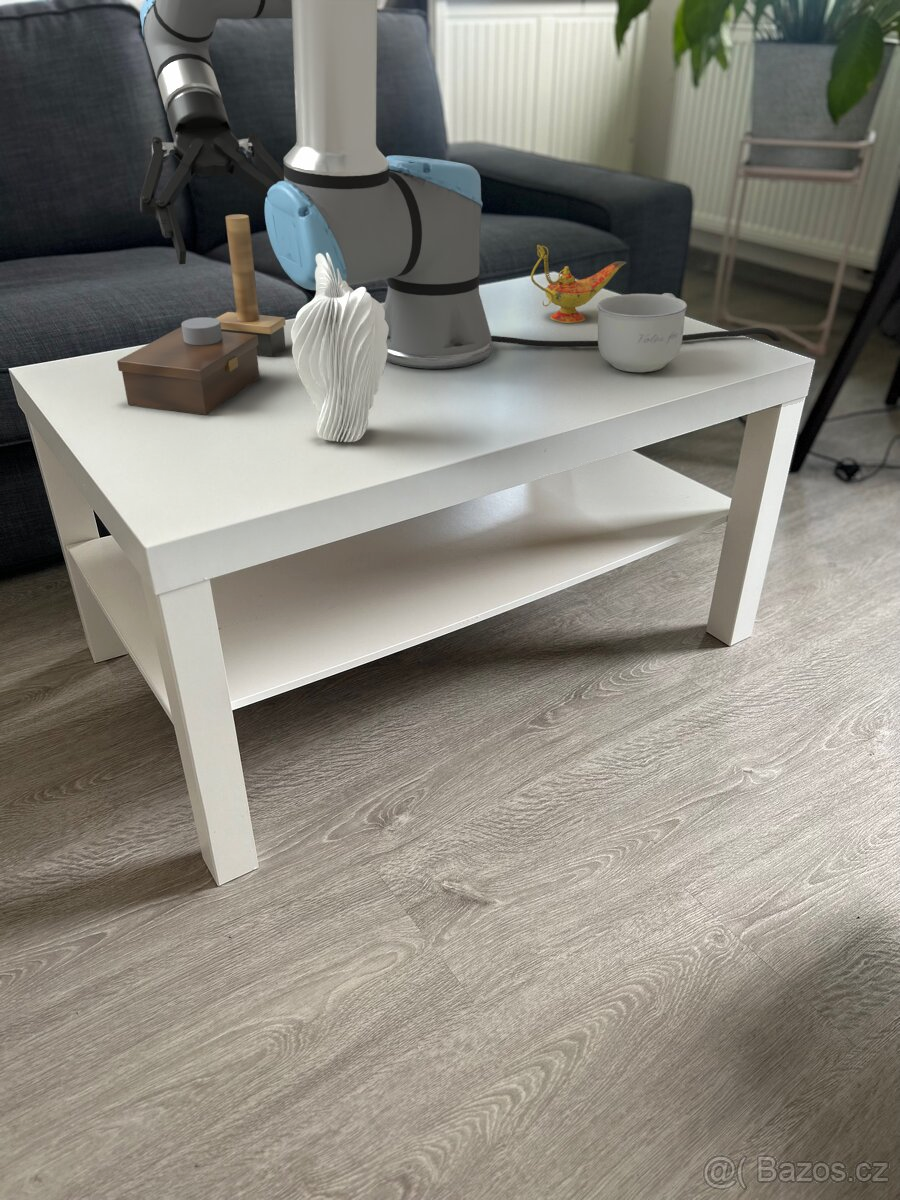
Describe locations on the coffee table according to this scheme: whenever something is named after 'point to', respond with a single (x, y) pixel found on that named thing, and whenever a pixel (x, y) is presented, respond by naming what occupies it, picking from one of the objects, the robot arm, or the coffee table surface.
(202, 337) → the felt pad
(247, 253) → the brush
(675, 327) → the teacup
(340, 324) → the shell sculpture
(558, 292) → the magic lamp
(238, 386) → the walnut box
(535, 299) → the coffee table surface
